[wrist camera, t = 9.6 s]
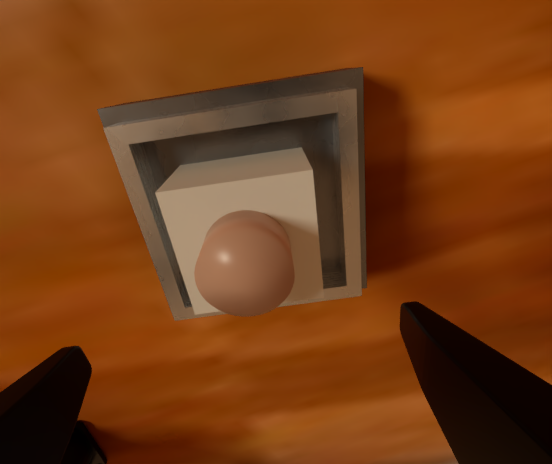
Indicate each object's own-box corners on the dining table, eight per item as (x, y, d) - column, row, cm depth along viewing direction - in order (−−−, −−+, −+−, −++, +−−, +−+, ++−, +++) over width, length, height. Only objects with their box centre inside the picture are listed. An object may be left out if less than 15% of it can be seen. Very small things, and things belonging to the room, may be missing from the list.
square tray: (354, 261, 22) (374, 303, 18) (184, 284, 22) (166, 331, 18) (347, 68, 17) (373, 66, 13) (123, 103, 17) (80, 113, 13)
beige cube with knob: (312, 253, 18) (332, 329, 13) (208, 267, 18) (185, 348, 13) (301, 147, 15) (321, 186, 10) (180, 165, 16) (135, 213, 10)
